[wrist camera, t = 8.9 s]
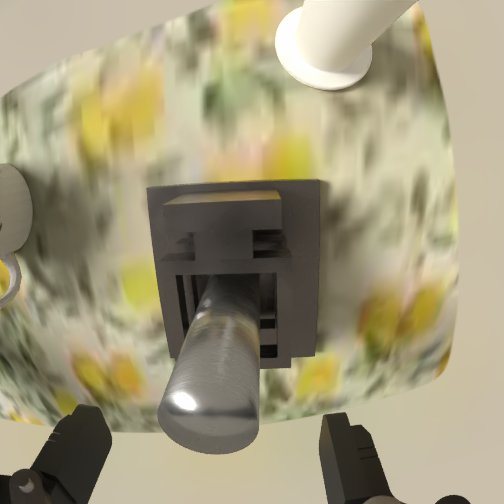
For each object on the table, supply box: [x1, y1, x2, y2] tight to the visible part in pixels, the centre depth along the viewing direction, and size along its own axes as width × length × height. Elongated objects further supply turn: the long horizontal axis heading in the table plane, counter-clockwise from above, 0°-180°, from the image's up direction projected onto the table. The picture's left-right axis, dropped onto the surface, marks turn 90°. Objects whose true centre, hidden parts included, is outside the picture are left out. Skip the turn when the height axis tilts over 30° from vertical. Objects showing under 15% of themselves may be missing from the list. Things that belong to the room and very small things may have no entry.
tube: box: [158, 273, 260, 454], centre depth 17 cm, size 4×4×14 cm
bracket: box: [147, 179, 320, 369], centre depth 21 cm, size 12×14×7 cm
